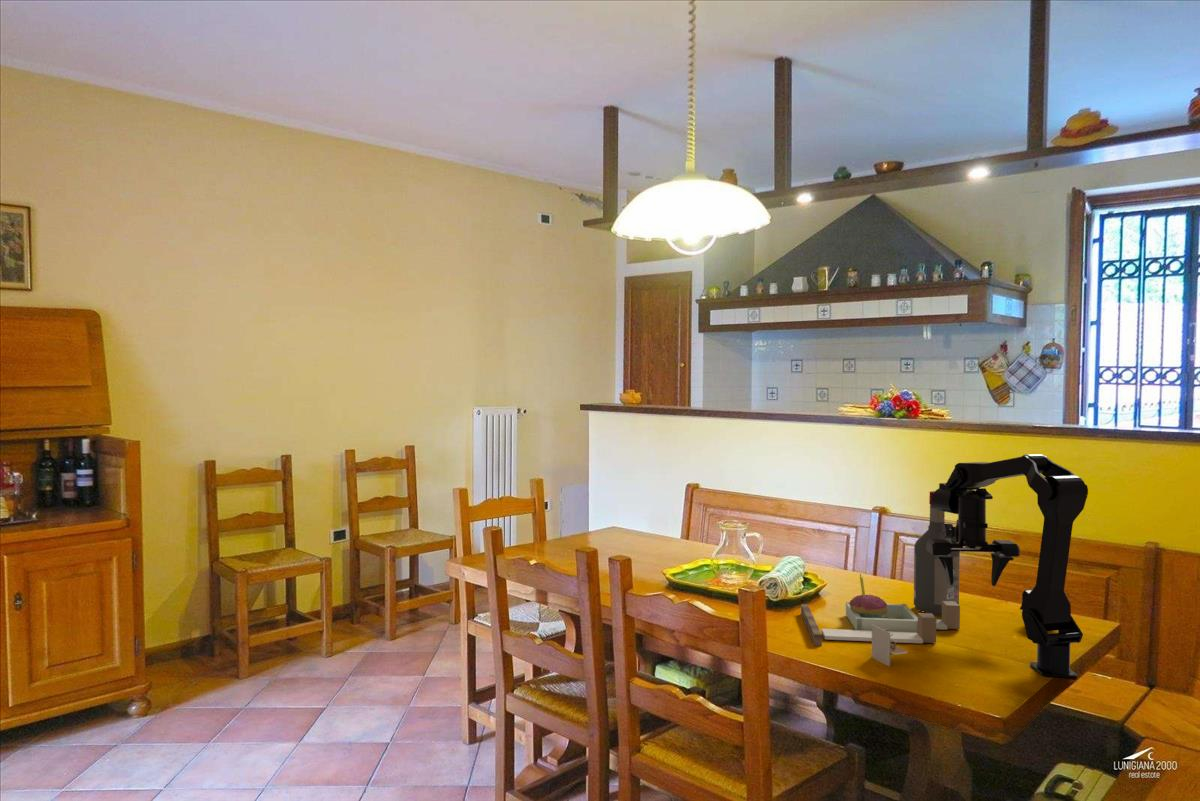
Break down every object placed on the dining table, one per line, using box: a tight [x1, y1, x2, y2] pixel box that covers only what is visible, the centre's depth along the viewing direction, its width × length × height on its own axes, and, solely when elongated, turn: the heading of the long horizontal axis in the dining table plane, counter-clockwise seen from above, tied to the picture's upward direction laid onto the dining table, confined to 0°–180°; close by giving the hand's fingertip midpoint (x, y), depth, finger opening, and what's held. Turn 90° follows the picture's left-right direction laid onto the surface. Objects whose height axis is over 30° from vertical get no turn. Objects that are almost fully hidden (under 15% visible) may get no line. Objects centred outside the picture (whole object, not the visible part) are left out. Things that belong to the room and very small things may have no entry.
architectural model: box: [871, 625, 908, 667], centre depth 161 cm, size 3×7×7 cm, turn 19°
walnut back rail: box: [800, 603, 823, 647], centre depth 182 cm, size 23×2×2 cm, turn 173°
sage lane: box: [845, 601, 961, 633], centre depth 184 cm, size 13×24×6 cm, turn 83°
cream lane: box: [821, 612, 937, 644], centre depth 175 cm, size 5×24×6 cm, turn 83°
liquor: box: [913, 490, 961, 616], centre depth 197 cm, size 9×9×30 cm
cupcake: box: [848, 573, 888, 618], centre depth 185 cm, size 9×8×12 cm
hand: (972, 585), depth 178 cm, fingers open, 9 cm apart
